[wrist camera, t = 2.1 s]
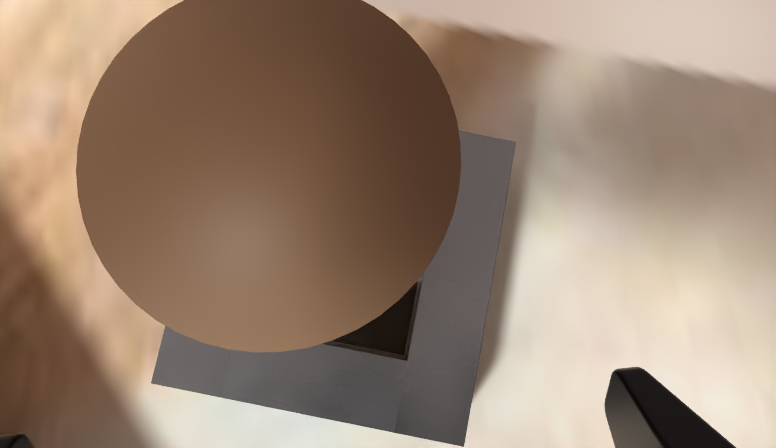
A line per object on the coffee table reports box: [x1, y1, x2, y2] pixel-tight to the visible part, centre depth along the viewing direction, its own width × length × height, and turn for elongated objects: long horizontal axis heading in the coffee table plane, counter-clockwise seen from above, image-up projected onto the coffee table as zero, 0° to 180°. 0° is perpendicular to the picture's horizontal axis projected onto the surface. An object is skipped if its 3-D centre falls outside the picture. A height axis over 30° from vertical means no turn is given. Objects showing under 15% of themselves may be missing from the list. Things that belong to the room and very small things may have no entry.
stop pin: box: [76, 0, 461, 352], centre depth 13 cm, size 4×4×14 cm
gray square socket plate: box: [151, 131, 516, 447], centre depth 19 cm, size 9×9×2 cm
